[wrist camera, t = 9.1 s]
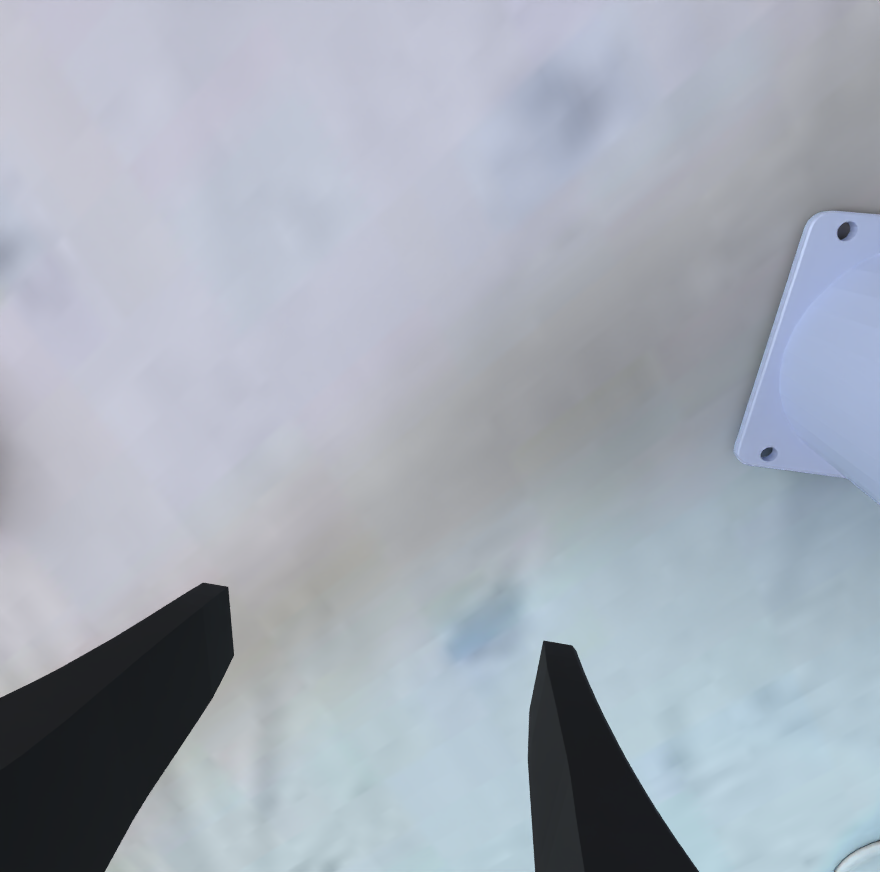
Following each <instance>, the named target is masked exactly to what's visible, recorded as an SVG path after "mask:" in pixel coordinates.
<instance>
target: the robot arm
mask: <svg viewBox="0 0 880 872" xmlns="http://www.w3.org/2000/svg"><path fill="white" fill-rule="evenodd" d="M845 222H847V223H848V224H849V225H850V232H849V234H848V235H847V237H845V238H844V239H842V240H839V238H838V237H837V230H838V228H839V227H840V225H842V224H843V223H845ZM768 447H773V451H772V453H771V454H770V455H768V456H766V457H761V452H762V451H763V450H764V449H766V448H768ZM734 454H735V456H736V457H737V459H738V460H739V461H741V462H742V463H743V464H746V465H750V466H758V467H765V468H773V469H780V470H788V471H795V472H803V473H811V474H818V475H826V476H833V477H841V478H847V479H848V480H850V481H851V482H852V483H853V484H855V485H856V486H857V487H858V488H859V489H861V490H862V491H863V492H864V493H865V494H867V495H868V496H869V497H870V498H872V499H873V500H874V501H875V502H876V503H878V504H879V505H880V214H868V213H856V212H844V211H822V212H819V213H817V214H815V215H813V216H812V217H811V218H810V219H809V220H808V222H807V224H806V226H805V227H804V230H803V233H802V237H801V240H800V243H799V246H798V249H797V252H796V255H795V258H794V262H793V265H792V268H791V271H790V274H789V277H788V280H787V283H786V286H785V290H784V293H783V296H782V299H781V302H780V305H779V308H778V311H777V315H776V318H775V321H774V324H773V327H772V330H771V333H770V336H769V340H768V343H767V346H766V349H765V352H764V355H763V358H762V361H761V364H760V368H759V371H758V374H757V377H756V380H755V383H754V386H753V389H752V393H751V396H750V399H749V402H748V405H747V408H746V411H745V414H744V417H743V421H742V424H741V427H740V430H739V433H738V436H737V439H736V442H735V446H734ZM233 656H234V649H233V638H232V626H231V614H230V603H229V591H228V587H226V586H220V585H214V584H208V583H202V584H200V585H199V586H197V587H195V588H193V589H192V590H190V591H188V592H187V593H185V594H184V595H182V596H180V597H179V598H177V599H176V600H174V601H172V602H171V603H169V604H168V605H166V606H164V607H163V608H161V609H160V610H158V611H157V612H155V613H153V614H152V615H150V616H149V617H147V618H145V619H144V620H142V621H140V622H139V623H137V624H135V625H134V626H132V627H131V628H129V629H127V630H126V631H124V632H122V633H121V634H119V635H118V636H116V637H114V638H113V639H111V640H109V641H107V642H106V643H104V644H102V645H100V646H98V647H97V648H95V649H93V650H91V651H90V652H88V653H86V654H84V655H83V656H81V657H79V658H77V659H76V660H74V661H72V662H70V663H68V664H67V665H65V666H63V667H61V668H59V669H57V670H56V671H54V672H52V673H50V674H48V675H46V676H44V677H42V678H40V679H38V680H36V681H34V682H32V683H30V684H28V685H26V686H24V687H22V688H20V689H18V690H16V691H14V692H11V693H9V694H7V695H5V696H3V697H1V698H0V872H105V870H106V868H107V867H108V865H109V863H110V861H111V859H112V857H113V856H114V854H115V852H116V850H117V848H118V847H119V845H120V843H121V841H122V839H123V837H124V836H125V834H126V832H127V830H128V828H129V826H130V825H131V823H132V821H133V819H134V818H135V816H136V814H137V813H138V811H139V809H140V808H141V806H142V805H143V803H144V801H145V800H146V798H147V796H148V795H149V793H150V792H151V790H152V789H153V787H154V786H155V784H156V783H157V781H158V780H159V778H160V777H161V775H162V774H163V772H164V771H165V769H166V768H167V766H168V765H169V763H170V762H171V760H172V759H173V757H174V756H175V754H176V753H177V751H178V750H179V748H180V747H181V745H182V744H183V742H184V741H185V739H186V738H187V736H188V735H189V733H190V732H191V730H192V729H193V727H194V726H195V724H196V723H197V721H198V720H199V718H200V717H201V715H202V714H203V712H204V710H205V709H206V707H207V706H208V704H209V703H210V701H211V700H212V698H213V696H214V694H215V692H216V690H217V688H218V687H219V685H220V683H221V681H222V679H223V677H224V675H225V673H226V671H227V669H228V667H229V664H230V662H231V660H232V658H233ZM528 769H529V785H530V801H531V816H532V830H533V845H534V860H535V872H699V871H698V870H697V868H696V867H695V865H694V864H693V863H692V861H691V860H690V858H689V857H688V855H687V854H686V853H685V851H684V850H683V848H682V847H681V845H680V844H679V843H678V841H677V840H676V838H675V837H674V835H673V834H672V832H671V831H670V829H669V828H668V826H667V825H666V823H665V822H664V820H663V819H662V817H661V816H660V814H659V813H658V811H657V809H656V808H655V806H654V805H653V803H652V801H651V800H650V798H649V797H648V795H647V793H646V792H645V790H644V788H643V787H642V785H641V783H640V782H639V780H638V778H637V776H636V775H635V773H634V771H633V769H632V768H631V766H630V764H629V762H628V761H627V759H626V757H625V755H624V753H623V752H622V750H621V748H620V746H619V744H618V742H617V740H616V738H615V736H614V734H613V732H612V731H611V729H610V727H609V725H608V723H607V721H606V719H605V717H604V715H603V713H602V711H601V709H600V706H599V704H598V702H597V700H596V698H595V696H594V693H593V691H592V689H591V687H590V684H589V682H588V680H587V677H586V675H585V673H584V670H583V668H582V665H581V662H580V660H579V657H578V654H577V652H576V650H575V649H574V647H573V646H572V645H566V644H560V643H554V642H548V641H543V645H542V650H541V655H540V660H539V665H538V670H537V675H536V680H535V685H534V690H533V695H532V700H531V705H530V711H529V738H528Z"/></svg>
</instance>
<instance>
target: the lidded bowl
mask: <svg viewBox="0 0 880 872" xmlns="http://www.w3.org/2000/svg"><path fill="white" fill-rule="evenodd" d="M835 872H880V841H877V842H874V843H871V844H869V845H866V846H864V847H862V848H860V849H858V850H856V851H855V852H853V853H851V854H850V855H849V856H848V857H846V858H845V859H844V860H843V861H842V862H841V863H840V864H839V865H838V867H837V868H836V870H835Z"/></svg>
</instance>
